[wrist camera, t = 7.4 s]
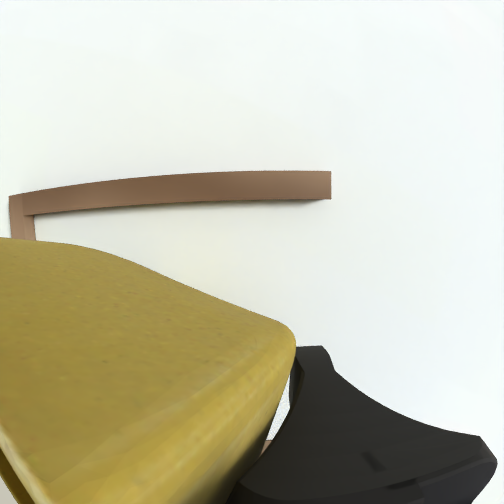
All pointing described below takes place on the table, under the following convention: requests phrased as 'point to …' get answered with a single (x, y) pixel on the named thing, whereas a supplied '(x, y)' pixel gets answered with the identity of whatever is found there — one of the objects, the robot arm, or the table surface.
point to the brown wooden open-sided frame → (167, 194)
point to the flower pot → (128, 381)
